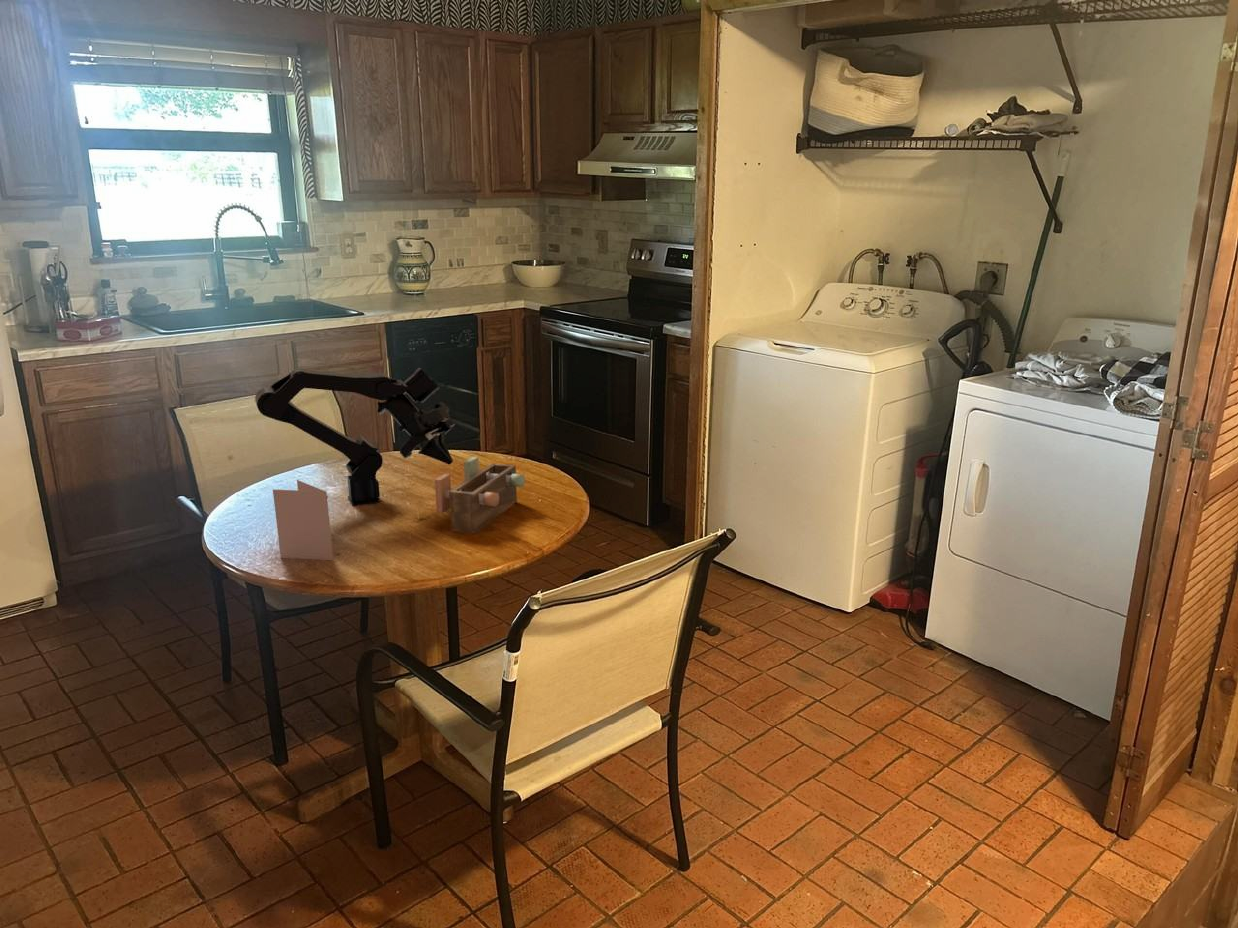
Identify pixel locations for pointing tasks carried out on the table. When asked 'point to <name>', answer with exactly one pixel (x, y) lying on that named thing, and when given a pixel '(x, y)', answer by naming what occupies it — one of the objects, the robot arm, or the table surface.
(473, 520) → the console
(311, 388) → the robot arm
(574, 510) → the table surface
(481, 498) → the pink block with rod
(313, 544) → the greeting card
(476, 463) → the sage button
